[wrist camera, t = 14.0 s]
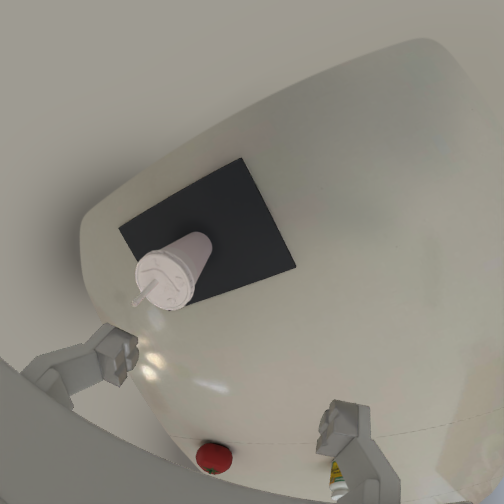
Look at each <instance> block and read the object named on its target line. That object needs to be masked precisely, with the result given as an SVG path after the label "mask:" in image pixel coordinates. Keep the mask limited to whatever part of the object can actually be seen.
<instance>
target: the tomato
mask: <svg viewBox="0 0 504 504" xmlns="http://www.w3.org/2000/svg"><path fill="white" fill-rule="evenodd" d="M232 458H233V457H232V453H231V452H230V450H229V449H228V448H225V447H223V446H220V445H217V444H213V443H206V444H204V445H202V446H201V447H200V448H199V450H198V451H197V454H196V461H197V464H198V465H199V466H200V467H201V468H202V469H203V470H204V471H206V472H208V473H209V474H214V475H215V474H220V473H223V472H225V471H226V470H228V469H229V468H230V466H231V464H232Z"/></svg>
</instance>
